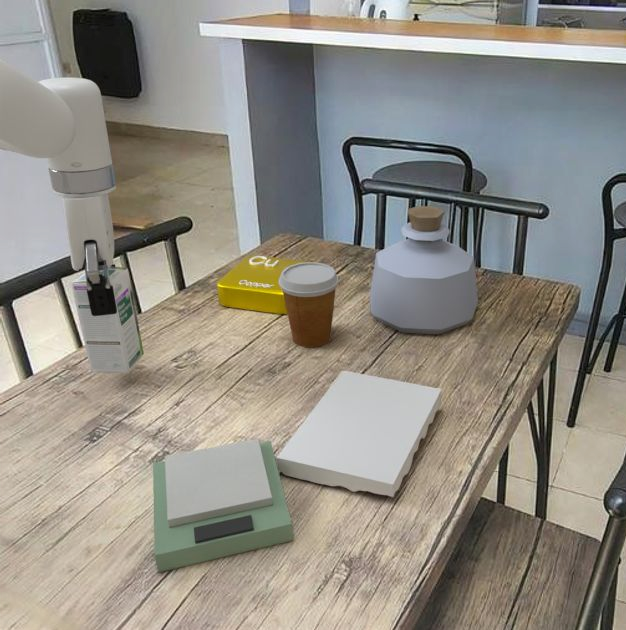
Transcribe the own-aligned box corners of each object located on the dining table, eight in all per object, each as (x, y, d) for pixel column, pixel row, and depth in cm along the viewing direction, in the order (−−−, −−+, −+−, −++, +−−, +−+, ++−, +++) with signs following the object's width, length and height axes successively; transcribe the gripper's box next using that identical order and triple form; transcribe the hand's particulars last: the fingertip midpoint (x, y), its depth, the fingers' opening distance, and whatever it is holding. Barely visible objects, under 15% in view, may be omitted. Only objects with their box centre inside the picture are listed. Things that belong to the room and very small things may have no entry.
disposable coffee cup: (317, 319, 120) (314, 256, 115) (351, 339, 114) (350, 274, 109) (271, 337, 114) (265, 271, 109) (305, 359, 108) (301, 291, 103)
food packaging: (393, 506, 80) (441, 408, 97) (393, 484, 79) (441, 389, 95) (279, 478, 84) (343, 389, 101) (276, 457, 83) (342, 370, 99)
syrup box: (129, 374, 98) (113, 282, 92) (88, 372, 98) (69, 280, 92) (144, 354, 103) (130, 266, 97) (105, 353, 103) (88, 264, 97)
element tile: (214, 306, 124) (211, 282, 121) (250, 273, 137) (248, 251, 134) (292, 316, 121) (290, 292, 119) (321, 282, 134) (320, 259, 132)
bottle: (350, 298, 128) (348, 201, 119) (442, 280, 136) (446, 188, 127) (396, 347, 112) (397, 240, 103) (496, 324, 120) (505, 222, 111)
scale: (158, 572, 70) (152, 547, 69) (156, 479, 83) (151, 455, 81) (293, 540, 75) (291, 516, 73) (272, 456, 87) (270, 433, 85)
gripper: (58, 163, 95) (81, 281, 102) (42, 200, 80) (71, 333, 88) (116, 161, 97) (135, 276, 105) (111, 196, 82) (133, 326, 90)
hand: (106, 301), depth 96 cm, fingers closed on syrup box, 7 cm apart
